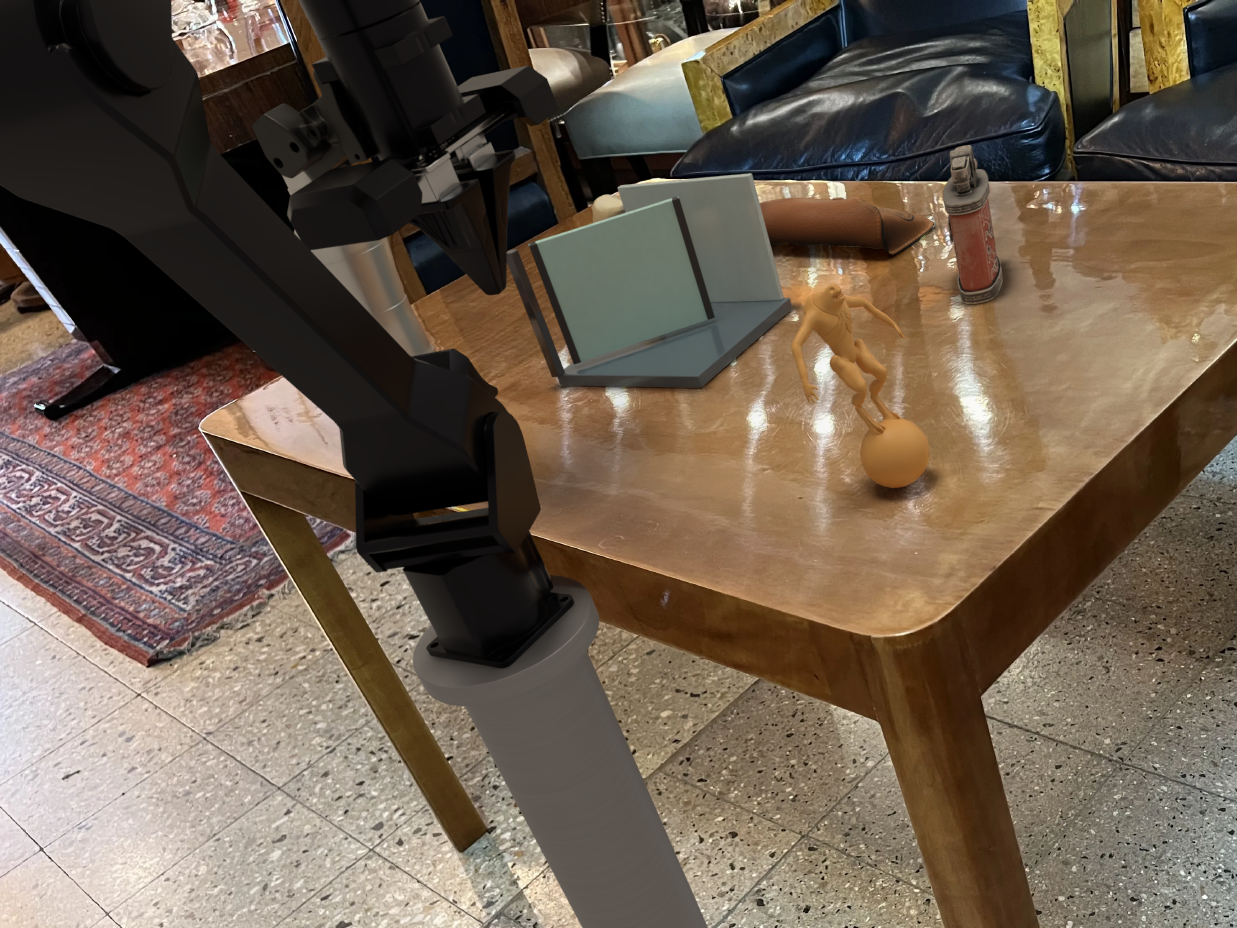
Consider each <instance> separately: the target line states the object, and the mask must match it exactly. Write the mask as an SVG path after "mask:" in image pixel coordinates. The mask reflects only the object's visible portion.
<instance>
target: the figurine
mask: <svg viewBox="0 0 1237 928" xmlns="http://www.w3.org/2000/svg"><path fill="white" fill-rule="evenodd" d="M842 290H843V289H842V287H841V286H840V285H838V284H837V283H836V282H835V283H831V284H829V285H828V286H827V287H826V288H825V290H821V291H819V292H814V293H812V294H810V295H809V296H808V297H807V298H806V300H805V301H804V304H803V315H804V316H803V318H802V322H801V325H800V327H799V329H798V330H797V332H796V334H795V336H794V338H793V340H792V342H791V345H790V349H791V351H790V352H791V354H792V357H793V359H794V363H795V365H796V369H797V372H798V375H799V378H800V381H801V384H802V389H803V390H802V391H803V393H804V396H805V398H806V400H807V402H808V404H811V402H812V403H813V404H816V401H815V400H814V398H815V399H816V400H817V401H819V400H820V399H819V398H818V396H817V394H816V393H815V391H814V390H816V391H819V388H818V387H816V386H815V385H812V384H810V382H809V373H808V368H807V365H806V363H805V360H804V356H803V351H802V347H803V345H804V344H805V343H806V341H807V340H808V339H809V337H810V335H811V334H812V332H813V331H814V332H815V333H816V334H817V335H818V336H819V338H821V339H822V340H823V342H824V343H825V344H826V345H827V346H828V347H829V349H830V351H831V352H832V353H833V354H834V355H832V356H831V358H829V359H830V360H829V367H830V368H831V370H832V372H833V373H835V374H836V375H837V376H838V378H839V379H840V380H842V382H843V383H844V384H845V385H846V386H847V387H848V388H849V389H851V390H852V391H853V392H855V393H854V394H853V395H852V397H851V400H850V401H851V404H852V406H854V410H855V412H856V413H857V415H858V416H859V417H860V419H861V420H862V421H863V422H864V424H865V425H866V427H867V428H868V430H867V431H866V433H865V434H864V436H863V437H862V440H861V443H860V447H859V448H860V449H859V457H860V462H861V466H862V468H863V471H864V472H865V474H866V475H867V476H868V477H869V478H870V479H871V481H873V482H875V484H877V485H880V486H882V487H885V488H890V489H891V488H892V489H899V488H904V487H908V486H910V485H911V484H913V483H915V482H916V481H918V480H919V478H920V477H921V476H922V475H923V474H924V472H925V470H926V469H927V467H928V463H929V461H930V446H929V440H928V439H927V436H926V435H925V433H924V431H923V430H922V429H921V428H920V427H919V426H918V425H917V424H915V423H914V422H912V421H910V420H908V419H906V418H902V417H901V416H900V415H899V414H898V413H897V412H895V411H892V410H891V409H889V407H887V405H886V404H885V402H883V400H882V399H881V397H880V396H879V393H880V392H881V391H882V389H883V387H884V385H885V384H886V382H887V379H888V369H887V368H886V367H885V366H884V365H883V364H882V363H880V362H879V360H878V359H877V358H876V357H875V356H874V355H873V354H872V353H871V352H870V349H869V348H868V346H867V345H866V343H865V341H864V340H863V339H862V338H857V339H856V340H854V339H853V326H852V325H853V318H852V312H851V310H850V309H857V308H864V309H865V310H866V312H868V313H869V314H870V315H872V316H873V317H874V318H875V319H877V320H878V321H880V322H882V323H883V324H886V325H888V326H890V327H891V328H893V329H894V330H895V331H896V332H897V333H898V334H899V337H901V339H903V340H906V337H905V335H904V334H903V332H902V331H901V329H900V327H899V326H898V324H897V323H896V322H895V321H894V320H892V319H891V317H889V316H888V314H886V313H884V312H883V311H881V310H880V309H878V308H877V307H875V306H874V305H873V304H872V303H871V302H870V301H869V300H867V299H866V298H864V297H860V296H852V295H851V296H847V295H845V294H844V293H843V291H842ZM863 373H865V374H869V375H872V376H873V377H874V378H875V379H874V380H872V381H870V384H869V386H868V385H867V382H866V380H865V379H864V377H863ZM868 391H869V393H870V399H871V401H872V403H873V404H874V405H875V407H876V409H877V411H879V413H880V414H881V416H882V419H881V420H880V421H876V420H875V419H874V418H873V417H872V416H871V415H870V414H869V413H868V411H867V410H866V408H864V407H863V404H865V400H866V398H867V394H868ZM813 397H814V398H813Z"/></svg>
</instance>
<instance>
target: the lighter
mask: <svg viewBox="0 0 1237 928" xmlns="http://www.w3.org/2000/svg"><path fill="white" fill-rule="evenodd" d="M949 151H950V152H949V162H950V174H951V177H950V178H949V179H948V180H947V182H946V183H945V185H944V187H943V190H942V199H943V200H942V201H943V206H944V210H945V212H946V214H948V215H947V229H948V234H949V240H950V242H951V243H953V248H954V254H955V259H956V265H957V271H958V274H957V287H958V292H959V293H958V294H959V297H960V299H961V302H962V303H963V304H967V305H976V304H981V303H982V304H983V303H985V302H986V303H987V302H989V301H991V300H993V299H995V298H996V297H997V295H998V294H999V292H1000V290H1001V289H1002V285H1003V282H1004V276H1003V269H1002V263H1001V259H1000V257H999V255H998V253H997V247H996V239H995V234H994V226H993V219H992V214H991V213H992V212H991V207H990V200H989V196H990V193H991V189H990V182H989V175H988V174H987V172H986V170H984V169H982V168H981V169H980V168H978V161H977V159H976V158H975V157H974V150H973V147H972V146H971V145H969V144H968V145H962V146H958V147H956V148H955V149H953V150H949Z"/></svg>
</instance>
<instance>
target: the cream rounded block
mask: <svg viewBox="0 0 1237 928" xmlns="http://www.w3.org/2000/svg"><path fill="white" fill-rule="evenodd" d="M623 213H625V210H624V207H623V204H622V201H621V197H616V196H615V195H612V194H603V195H601V196H598V197H597V198H596V199H595V200H594V201H593V204H592V223H595V222H598V221H602V220H605V219H608V218H611V217H614V216H617V215H620V214H623Z"/></svg>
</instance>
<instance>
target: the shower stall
mask: <svg viewBox="0 0 1237 928" xmlns="http://www.w3.org/2000/svg"><path fill="white" fill-rule="evenodd" d="M617 191H618V194H619V198H620V199H621V201H622V204H623V207H624V210H625V213H627V212H630V211H633V210H636V209H639V208H642V207H645V206H649V205H652V204H655V203H658V202H661V201H664V200H667V199H671V198H673V197H676V196H678V197H679V199H680V202H681V205H682V208H683V212H684V215H685V219H686V222H687V225H688V229H689V232H690V235H691V239H692V242H693V245H694V249H695V252H696V255H697V259H698V262H699V266H700V269H701V272H702V276H703V279H704V282H705V286H706V289H707V292H708V296H709V299H710V302H711V306H712V309H713V313H714V316H715V318H713V319H710V320H706V321H703V322H700V323H697V324H694V325H691V326H688V327H685V328H682V329H679V330H676V331H673V332H670V333H667V334H663V335H660V336H657V337H654V338H651V339H648V340H645V341H642V342H639V343H636V344H633V345H630V346H627V347H624V348H621V349H618V350H615V351H612V352H609V353H606V354H603V355H600V356H597V357H594V358H591V359H588V360H585V361H582V362H581V363H578V364H575V365H574V364H573V362H571V363H569V364H568V365H567V366H566V367H564V366H563V364H562V361H561V358H560V355H559V353H558V351H557V348H556V345H555V342H554V340H553V337H552V335H551V332H550V330H549V327H548V325H547V322H546V319H545V316H544V314H543V311H542V309H541V306H540V303H539V301H538V298H537V295H536V294H535V291H534V287H533V285H532V283H531V280H530V277H529V275H528V272H527V270H526V268H525V265H524V262H523V260H522V256H521V254H520V251H519V249H509V250H507V267H508V268H509V272H510V274H511V276H512V279H513V282H514V284H515V286H516V289H517V292H518V295H519V297H520V299H521V302H522V304H523V306H524V307H523V308H524V309H525V312H526V315H527V318H528V319H529V322H530V325H531V327H532V330H533V332H534V335H535V337H536V340H537V343H538V345H539V348H540V350H541V353H542V355H543V358H544V360H545V362H546V365H547V368H548V371H549V374H550V376H551V377H552V378H557V380H558V383H559V385H560V386H563V387H564V386H565V387H566V386H567V387H569V386H571V387H572V386H573V387H622V388H623V387H626V388H629V387H631V388H674V389H675V388H679V389H680V388H682V389H683V388H684V389H689V388H690V389H702V388H703V387H705V386H706V385H707V384H708V383H709V382H711V380H712V379H714V378H715V377H716V376H717V375H718V374H719V373H720V372H722V371H723V370H724V369H725V368H727V366H728V365H730V364H731V363H732V362H733V361H734V360H735V359H737V357H740V355H741V354H742V353H743V352H745V351H746V350H747V349H749V347H750V346H752V345H753V344H754V343H756V341H758V339H760V338H761V337H762V336H763V335H765V333H766V332H768V331H769V330H770V329H771V328H772V327H774V326H775V325H776V324H777V323H778V322H779V321H780V320H782V319H783V318H784V317H785V316H786V315H787V314H789V313H790V312H791V311H792V310H793V303H792V299H791V297H785V295H784V291H783V287H782V284H781V280H780V277H779V273H778V269H777V265H776V260H775V258H774V257H775V256H774V253H773V249H772V246H771V245H772V244H770V241H769V238H768V234H767V230H766V226H765V222H764V218H763V214H762V211H761V207H760V203H761V202H760V199H759V196H758V192H757V187H756V184H755V180H754V176H753V173H741V174H730V175H719V176H717V175H716V176H709V177H708V176H707V177H697V178H686V179H675V180H665V181H654V182H641V183H632V184H623V185H622V184H621V185H619V186H618V187H617Z"/></svg>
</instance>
